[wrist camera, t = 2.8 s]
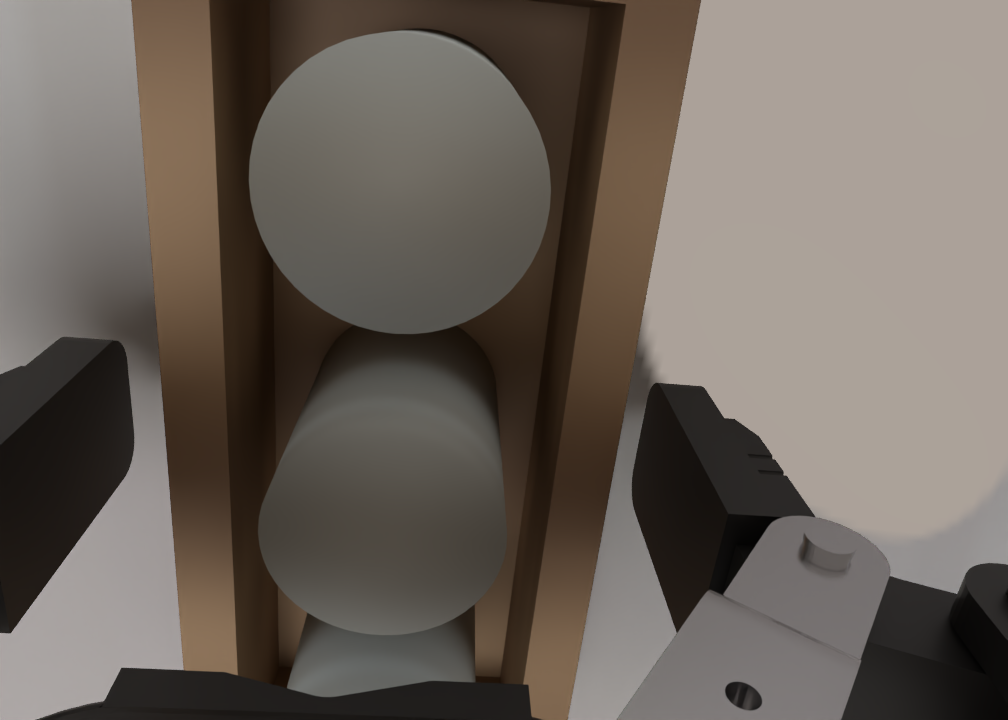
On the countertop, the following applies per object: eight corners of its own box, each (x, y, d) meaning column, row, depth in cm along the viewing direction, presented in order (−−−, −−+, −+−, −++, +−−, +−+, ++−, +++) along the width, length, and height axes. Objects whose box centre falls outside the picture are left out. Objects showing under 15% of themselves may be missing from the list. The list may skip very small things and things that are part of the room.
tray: (222, -98, 11) (54, -177, 6) (644, -46, 11) (755, -88, 7) (249, 664, 16) (169, 901, 12) (531, 678, 17) (554, 910, 12)
